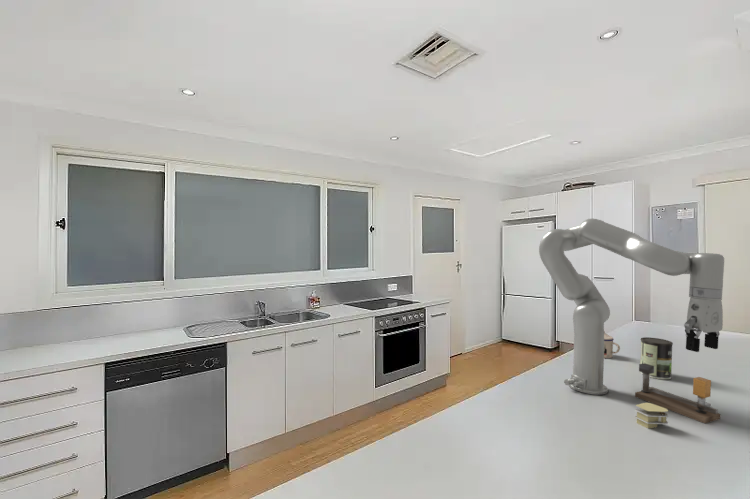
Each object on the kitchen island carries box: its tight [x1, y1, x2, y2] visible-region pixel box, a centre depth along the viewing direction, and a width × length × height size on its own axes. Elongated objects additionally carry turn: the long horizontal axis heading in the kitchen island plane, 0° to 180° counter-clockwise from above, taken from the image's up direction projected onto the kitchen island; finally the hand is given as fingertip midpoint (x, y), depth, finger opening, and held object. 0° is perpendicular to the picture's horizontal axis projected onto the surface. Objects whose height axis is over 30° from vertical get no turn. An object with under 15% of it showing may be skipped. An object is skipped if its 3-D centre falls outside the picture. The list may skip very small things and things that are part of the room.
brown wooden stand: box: [634, 363, 721, 424], centre depth 120 cm, size 8×20×11 cm, turn 23°
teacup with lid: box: [604, 330, 621, 359], centre depth 173 cm, size 12×9×12 cm
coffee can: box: [639, 336, 674, 380], centre depth 149 cm, size 10×10×14 cm
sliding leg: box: [692, 376, 712, 411], centre depth 113 cm, size 5×3×10 cm, turn 113°
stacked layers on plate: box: [634, 402, 669, 429], centre depth 107 cm, size 10×9×6 cm
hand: (701, 349), depth 113 cm, fingers open, 9 cm apart
